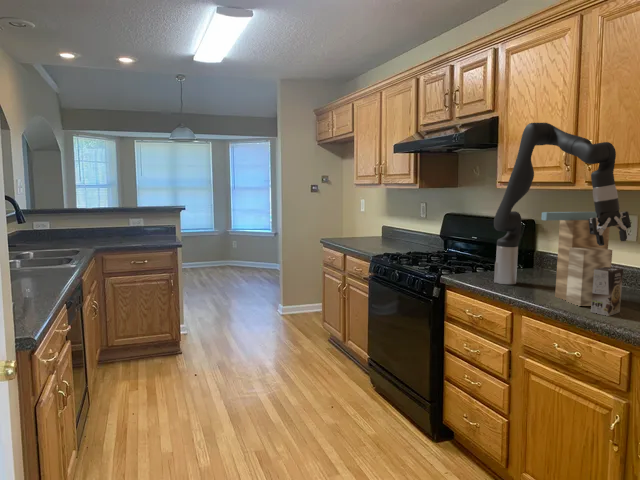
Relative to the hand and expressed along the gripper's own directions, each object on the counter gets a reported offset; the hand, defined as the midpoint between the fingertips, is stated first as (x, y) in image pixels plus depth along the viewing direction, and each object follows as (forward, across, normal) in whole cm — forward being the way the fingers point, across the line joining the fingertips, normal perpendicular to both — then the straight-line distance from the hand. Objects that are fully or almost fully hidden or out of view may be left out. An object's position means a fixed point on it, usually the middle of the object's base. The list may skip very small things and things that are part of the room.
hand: (612, 243), depth 175 cm
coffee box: (+25, +6, -1) cm, 25 cm away
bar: (-9, +2, -18) cm, 20 cm away
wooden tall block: (+23, +2, -22) cm, 32 cm away
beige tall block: (+24, +5, -13) cm, 27 cm away
